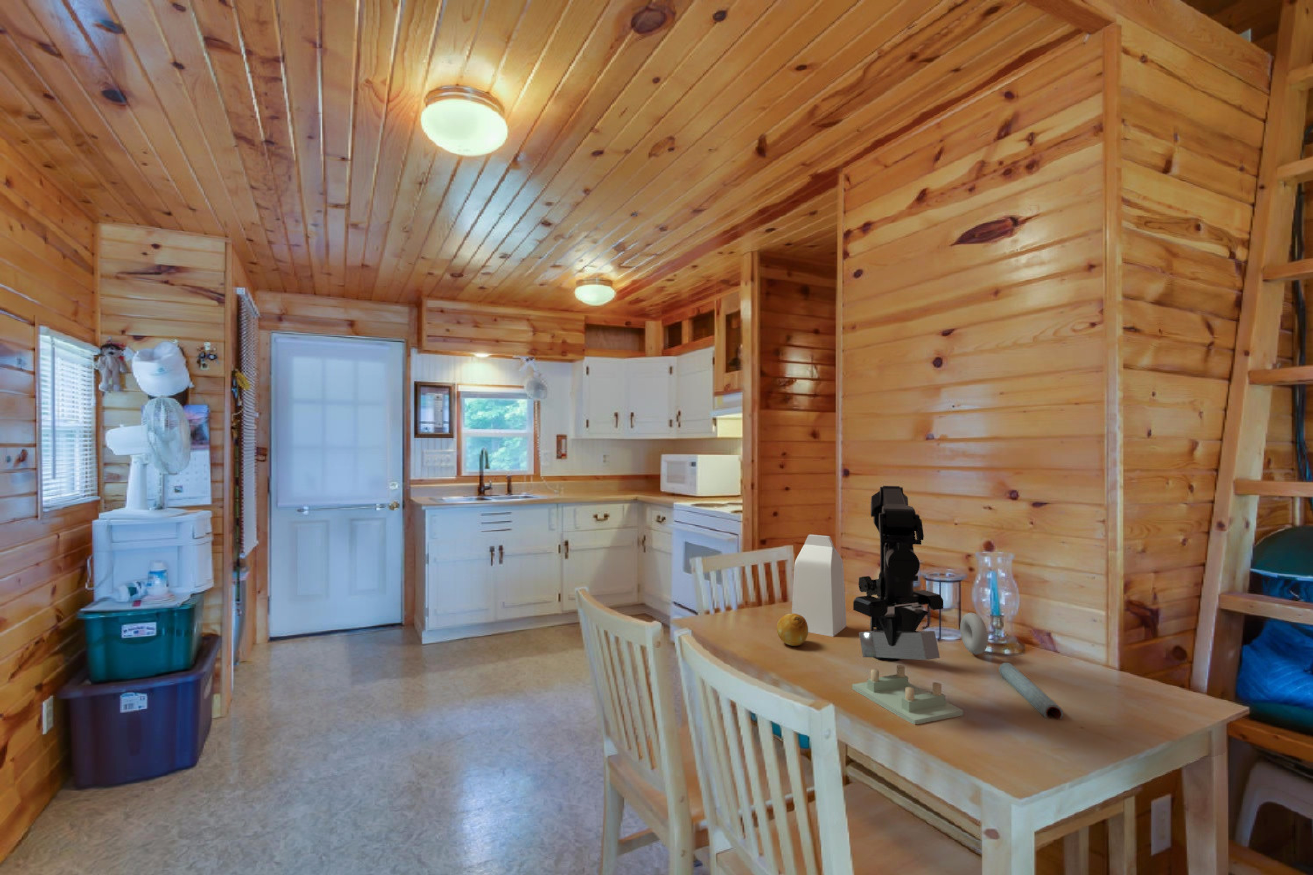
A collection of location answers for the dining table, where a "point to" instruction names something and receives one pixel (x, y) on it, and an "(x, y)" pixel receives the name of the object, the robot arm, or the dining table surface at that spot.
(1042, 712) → the aluminum foil
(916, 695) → the rack
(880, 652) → the long grey rectangular beam
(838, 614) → the milk
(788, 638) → the fruit
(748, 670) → the dining table surface
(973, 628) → the donut
